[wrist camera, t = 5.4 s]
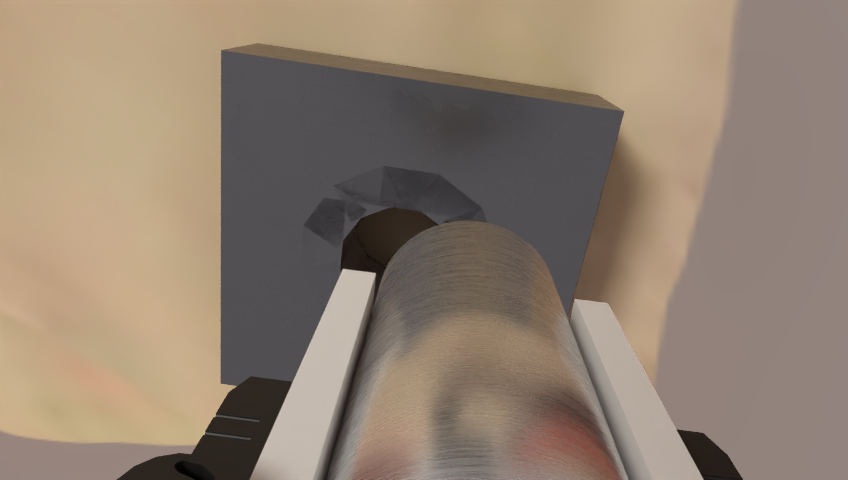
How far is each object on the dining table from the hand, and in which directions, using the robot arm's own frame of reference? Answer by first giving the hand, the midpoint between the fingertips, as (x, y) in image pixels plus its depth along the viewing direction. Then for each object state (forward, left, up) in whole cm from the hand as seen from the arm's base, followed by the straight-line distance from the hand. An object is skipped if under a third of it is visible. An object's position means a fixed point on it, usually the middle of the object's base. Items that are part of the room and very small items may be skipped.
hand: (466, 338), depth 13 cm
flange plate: (+5, -2, -19) cm, 20 cm away
